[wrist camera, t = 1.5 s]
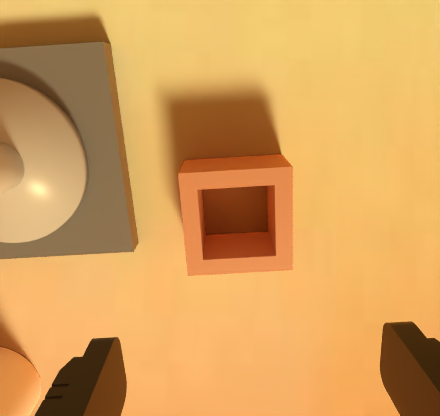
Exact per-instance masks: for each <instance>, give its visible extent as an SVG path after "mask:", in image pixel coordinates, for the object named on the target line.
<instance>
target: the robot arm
mask: <svg viewBox="0 0 440 416" xmlns="http://www.w3.org/2000/svg"><path fill="white" fill-rule="evenodd" d="M380 373H381V378H382V381H383V384H384V387H385V389H386V391H387V392H388V394H389V396H390V398H391V400H392V401H393V403H394V405H395V407H396V409H397V410H398V412H399V414H400V416H440V342H439V341H438V340H436V339H435V338H426V337H425V335H424V334H423V333H422V332H421V331H420V329H419V328H418V327H417V326H416V325H415V324H414V323H413V322H393V323H385V324H384V326H383V333H382V346H381V358H380ZM126 388H127V382H126V374H125V368H124V362H123V356H122V350H121V344H120V340H119V338H118V337H114V338H96V339H92V340H91V341H90V343H89V345H88V347H87V349H86V351H85V353H84V355H83V357H74V358H72V359H71V360H70V361H69V362H68V363H67V364H66V365H65V366H64V367H63V368H62V369H61V370H60V371H59V373H58V374H57V376H56V378H55V380H54V382H53V383H52V387H51V388H50V389H49V391H48V392H47V394H46V396H45V400H43V401H42V403H41V405H40V407H39V409H38V410H37V412H36V414H35V416H121V412H122V409H123V405H124V402H125V398H126Z"/></svg>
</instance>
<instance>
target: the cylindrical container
mask: <svg viewBox="0 0 440 416" xmlns="http://www.w3.org/2000/svg"><path fill="white" fill-rule="evenodd" d="M41 390H42V386H41V380H40V377H39V374H38V372H37V371H36V369H35V368H34V366H33V365H32V364H31V363H30V362H29V361H28V360H27V359H26V358H24V357H23V356H22V355H20V354H18V353H17V352H15V351H12V350H10V349H7V348H3V347H0V416H30V414H31V412H32V411H33V409H34V407H35V405H36V404H37V402H38V400H39V398H40V396H41Z"/></svg>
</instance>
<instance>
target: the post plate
mask: <svg viewBox="0 0 440 416" xmlns="http://www.w3.org/2000/svg"><path fill="white" fill-rule="evenodd" d="M137 244H138V237H137V230H136V222H135V215H134V208H133V201H132V194H131V187H130V180H129V172H128V165H127V158H126V151H125V144H124V137H123V130H122V122H121V115H120V108H119V101H118V94H117V87H116V80H115V73H114V65H113V58H112V51H111V44H109V43H106V42H103V41H102V42H87V43H73V44H58V45H44V46H29V47H14V48H0V259H11V258H29V257H47V256H65V255H83V254H100V253H118V252H134V250H135V248H136V246H137Z"/></svg>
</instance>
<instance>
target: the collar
mask: <svg viewBox="0 0 440 416" xmlns="http://www.w3.org/2000/svg"><path fill="white" fill-rule="evenodd" d="M178 180H179V190H180V200H181V210H182V220H183V230H184V240H185V250H186V261H187V271H188V276H192V275H211V274H229V273H247V272H266V271H284V270H293V167H292V165H291V164H290V163H289V162H288V161H287V160H286V159H285V157H284V156H283V155H282V154H273V155H257V156H241V157H224V158H208V159H192V160H184V162H183V164H182V166H181V168H180V170H179V172H178ZM252 186H267V201H268V231H266V232H248V233H231V234H213V235H206V233H205V221H204V208H203V196H202V189H218V188H235V187H252Z"/></svg>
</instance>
